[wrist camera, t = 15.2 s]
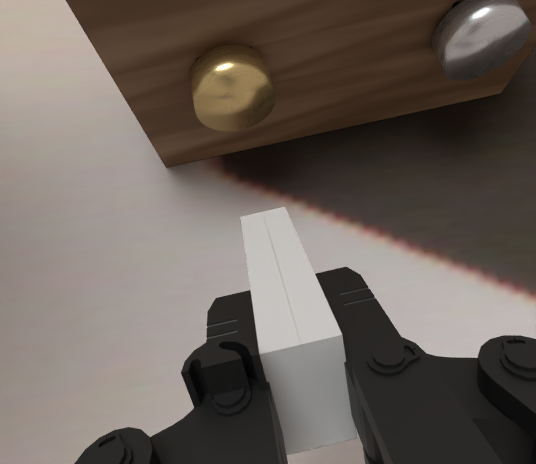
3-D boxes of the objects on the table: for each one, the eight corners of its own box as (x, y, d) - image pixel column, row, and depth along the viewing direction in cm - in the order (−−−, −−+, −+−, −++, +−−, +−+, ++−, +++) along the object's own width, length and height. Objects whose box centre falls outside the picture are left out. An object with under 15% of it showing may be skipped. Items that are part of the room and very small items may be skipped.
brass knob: (277, 121, 23) (274, 67, 19) (204, 137, 23) (185, 86, 19) (255, 41, 25) (248, -23, 21) (188, 56, 25) (169, -7, 21)
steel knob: (504, 72, 24) (549, 7, 19) (433, 87, 23) (463, 25, 19) (462, -3, 26) (495, -76, 22) (398, 11, 26) (418, -59, 22)
